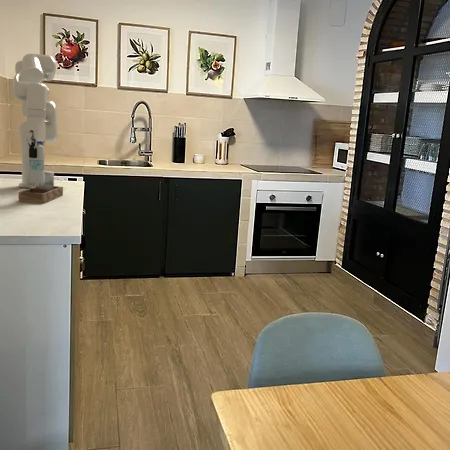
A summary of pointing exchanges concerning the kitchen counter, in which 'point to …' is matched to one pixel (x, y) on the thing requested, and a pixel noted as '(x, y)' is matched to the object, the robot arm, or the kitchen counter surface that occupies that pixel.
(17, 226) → the kitchen counter surface
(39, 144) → the bottle
